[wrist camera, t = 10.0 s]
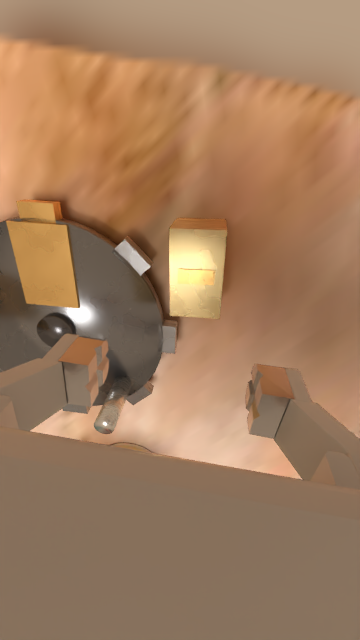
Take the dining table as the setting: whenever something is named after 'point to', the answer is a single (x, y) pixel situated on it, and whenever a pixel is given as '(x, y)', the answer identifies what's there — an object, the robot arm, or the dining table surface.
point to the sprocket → (80, 302)
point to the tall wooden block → (196, 266)
